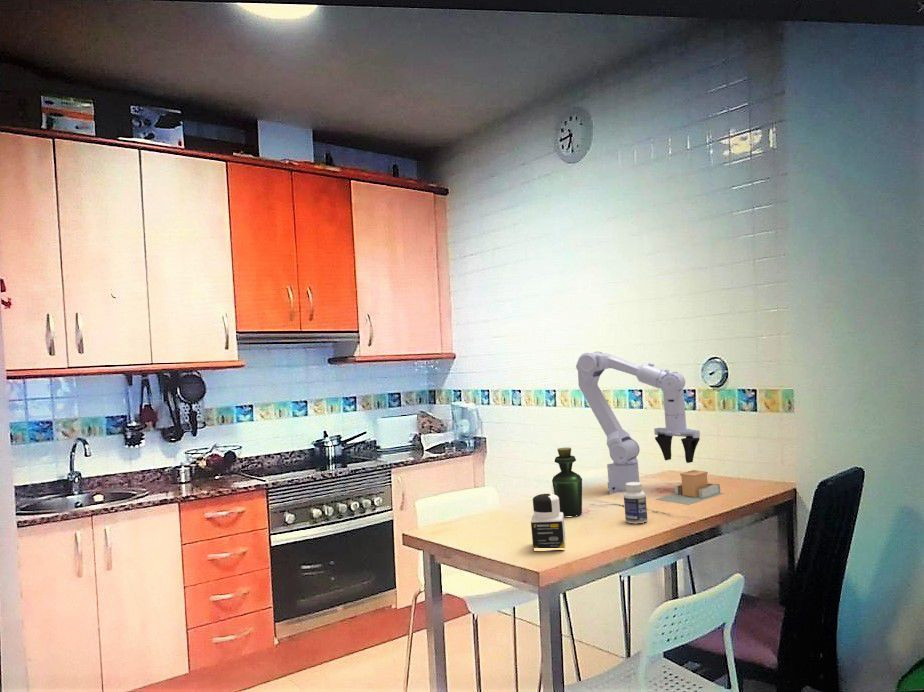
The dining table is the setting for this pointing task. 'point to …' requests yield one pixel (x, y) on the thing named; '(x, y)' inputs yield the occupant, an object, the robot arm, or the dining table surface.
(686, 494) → the chute block
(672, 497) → the deck plate
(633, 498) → the pill bottle
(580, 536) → the dining table surface
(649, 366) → the robot arm
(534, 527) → the medicine bottle
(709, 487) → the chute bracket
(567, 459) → the potion bottle
